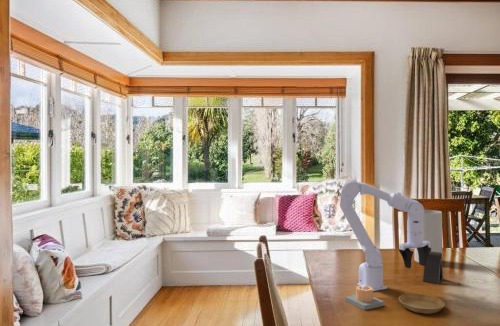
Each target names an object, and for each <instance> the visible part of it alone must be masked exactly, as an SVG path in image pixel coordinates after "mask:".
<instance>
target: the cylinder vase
mask: <svg viewBox="0 0 500 326" xmlns="http://www.w3.org/2000/svg"><path fill="white" fill-rule="evenodd" d="M422 216H423V218H422V220H423V241H430V248H431V252H439V253H442V254H443V212H442V211H440V210H435V209H433V210H432V209H424V213H423V215H422ZM413 250H414V251H413V252H414V253H413V255H414V258H413V259H414V262H416V263H418V264H419V255H418V250H417V248H413Z"/></svg>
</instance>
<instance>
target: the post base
mask: <svg viewBox="0 0 500 326" xmlns="http://www.w3.org/2000/svg"><path fill="white" fill-rule="evenodd" d="M362 289H363V290H367V286H366V285H363V286H362ZM345 302H347V303H349V304H351V305H353V306H355V307H356V308H359V309H360V310H363V311H367V310H371V309H376V308H380V307H385V301H384V300H381V299H379V298H377V297H375V296H373V300H372V301H370V302H362V301H358V300H357V299H356V294H353V295H348V296H347V295H346V296H345Z"/></svg>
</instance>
